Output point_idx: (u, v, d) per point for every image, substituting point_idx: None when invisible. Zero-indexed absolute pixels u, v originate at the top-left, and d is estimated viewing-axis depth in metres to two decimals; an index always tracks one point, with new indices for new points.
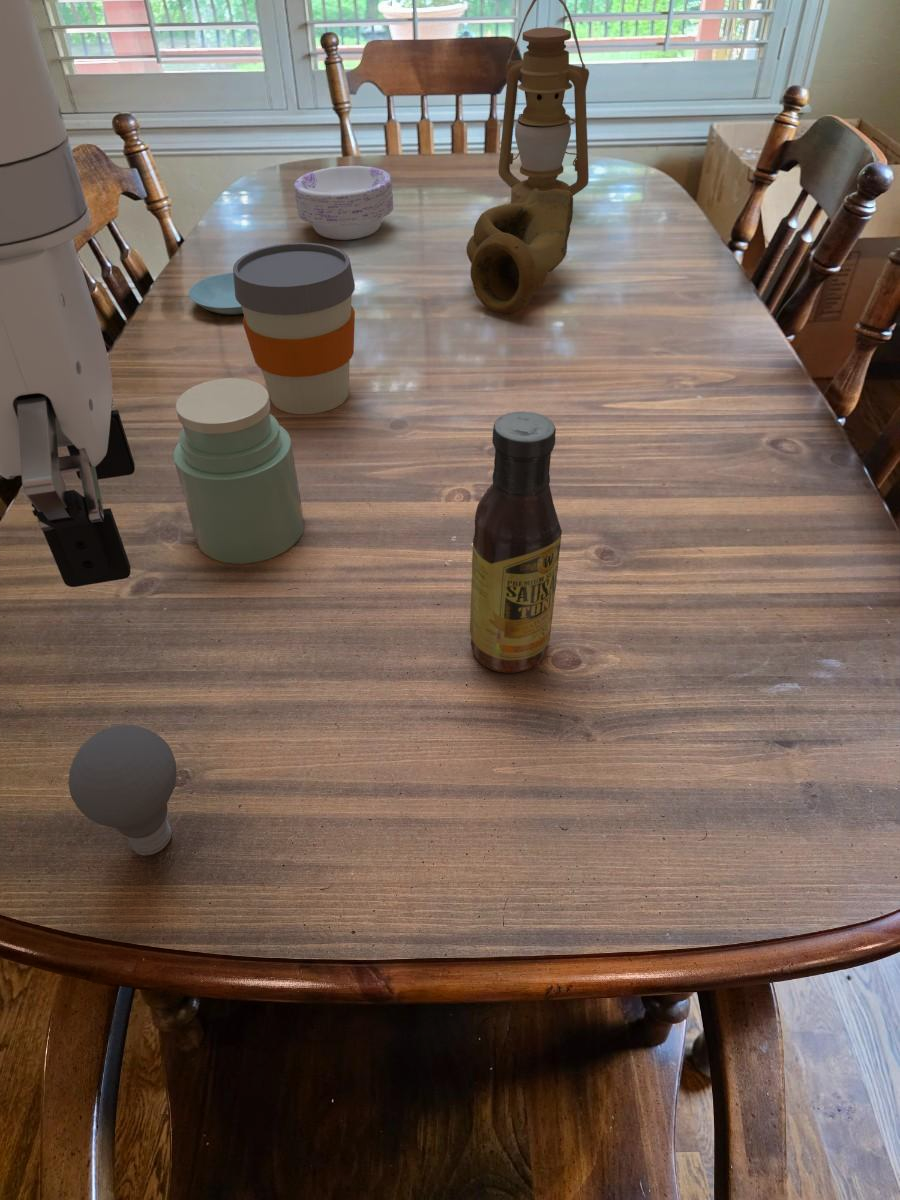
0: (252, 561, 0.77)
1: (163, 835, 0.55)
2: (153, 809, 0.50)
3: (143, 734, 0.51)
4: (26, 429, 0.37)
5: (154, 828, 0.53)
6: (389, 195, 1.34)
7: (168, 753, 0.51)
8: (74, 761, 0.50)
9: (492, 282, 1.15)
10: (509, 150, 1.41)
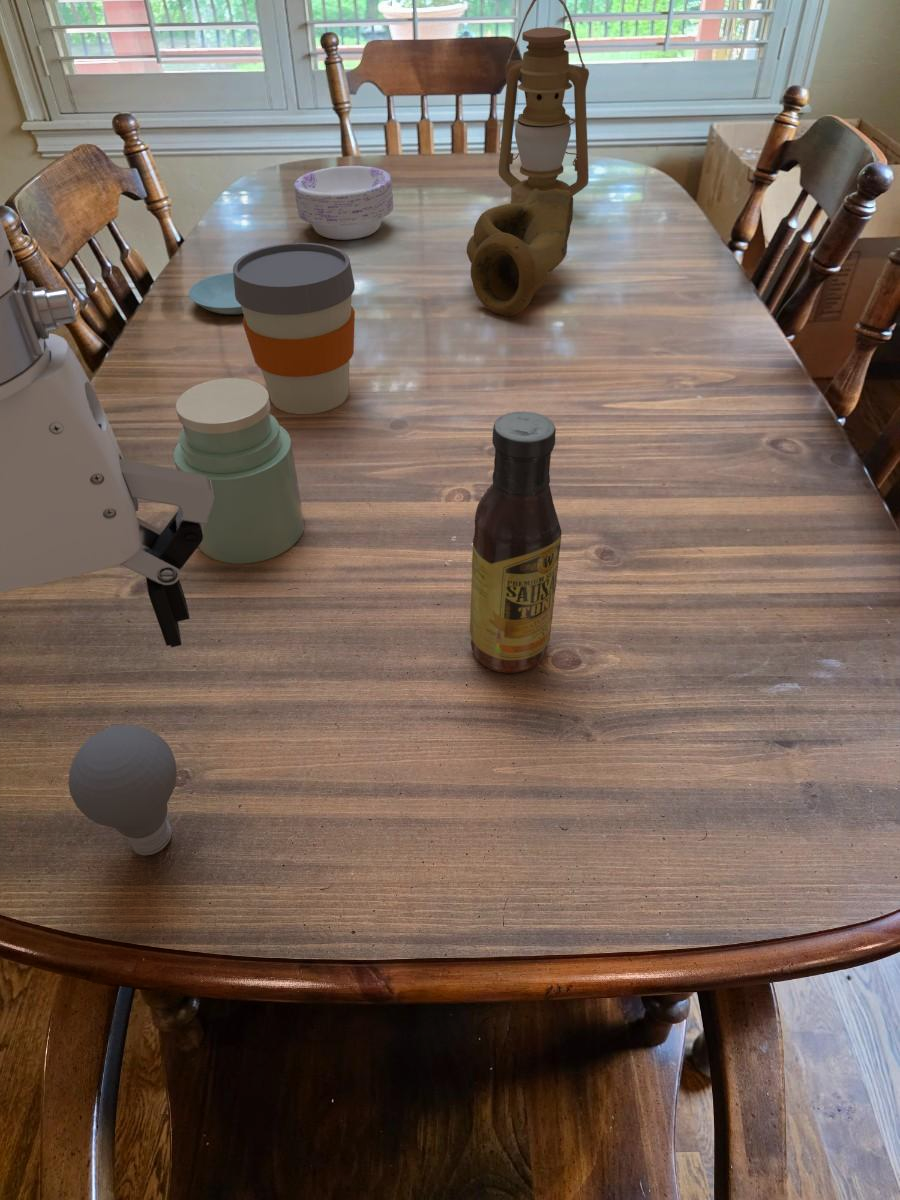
0: (252, 561, 0.77)
1: (163, 835, 0.55)
2: (153, 809, 0.50)
3: (143, 734, 0.51)
4: None
5: (154, 828, 0.53)
6: (389, 195, 1.34)
7: (168, 753, 0.51)
8: (74, 761, 0.50)
9: (492, 282, 1.15)
10: (509, 150, 1.41)
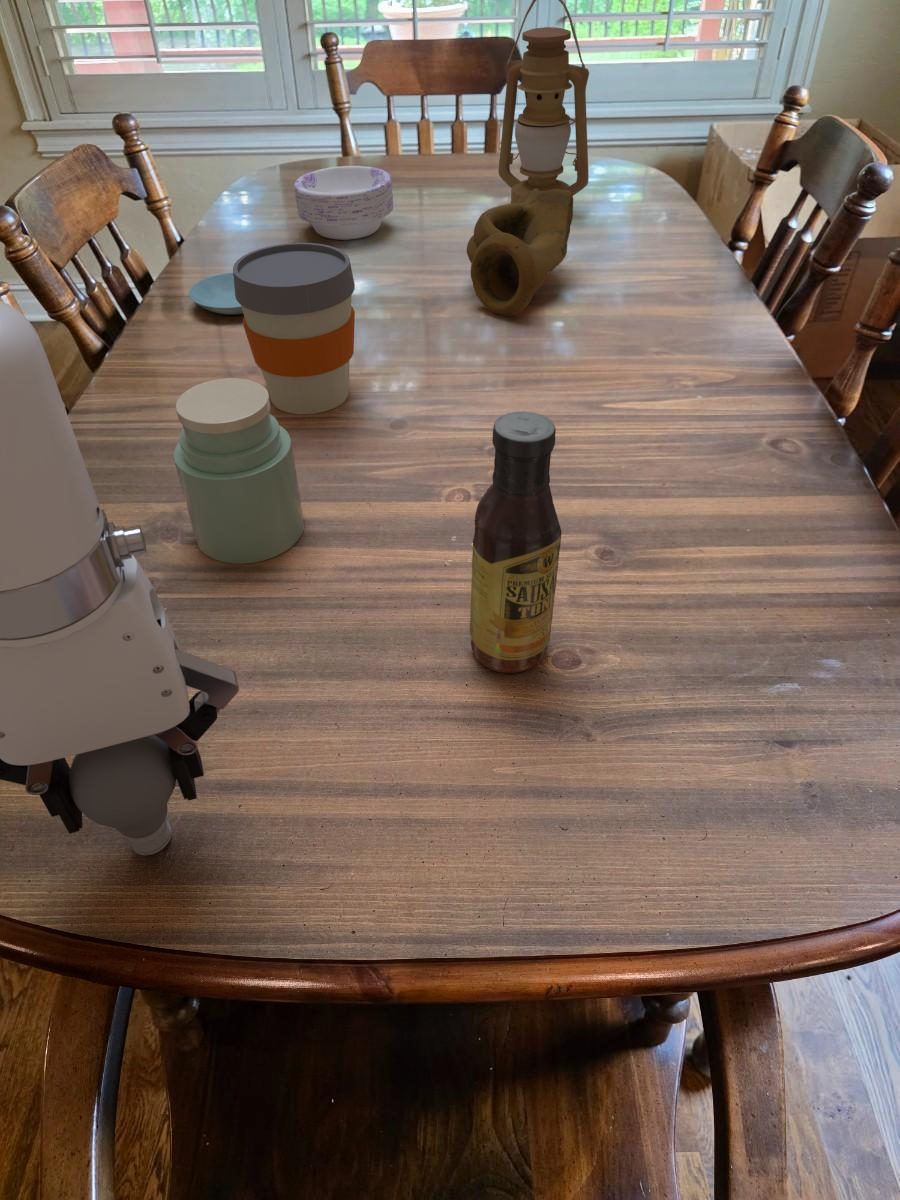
0: (252, 561, 0.77)
1: (163, 835, 0.55)
2: (153, 809, 0.50)
3: None
4: None
5: (154, 828, 0.53)
6: (389, 195, 1.34)
7: (168, 753, 0.51)
8: (74, 761, 0.50)
9: (492, 282, 1.15)
10: (509, 150, 1.41)
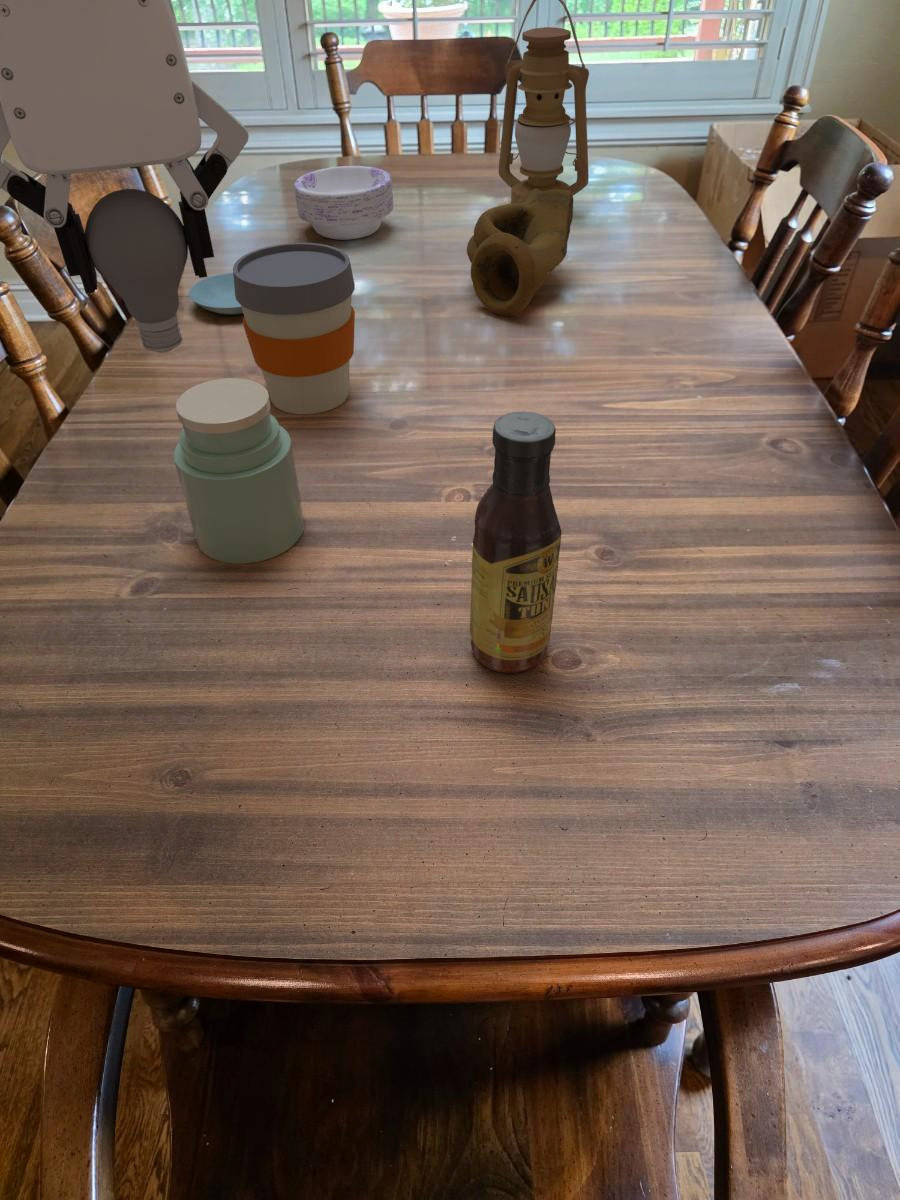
0: (252, 561, 0.77)
1: (174, 333, 0.57)
2: (165, 264, 0.52)
3: (156, 196, 0.53)
4: None
5: (166, 310, 0.55)
6: (389, 195, 1.34)
7: (180, 221, 0.53)
8: (90, 213, 0.52)
9: (492, 282, 1.15)
10: (509, 150, 1.41)
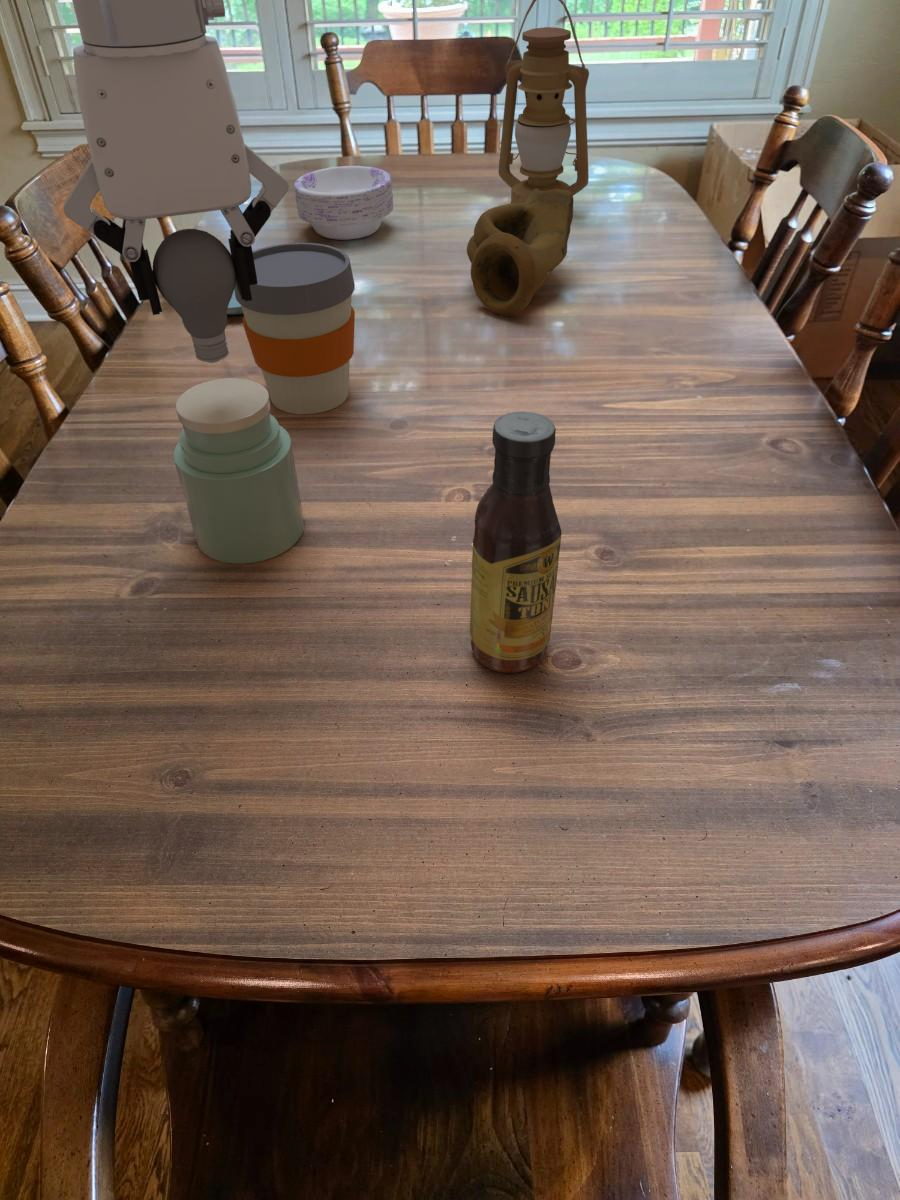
0: (252, 561, 0.77)
1: (223, 346, 0.68)
2: (219, 291, 0.63)
3: None
4: (82, 173, 0.58)
5: (217, 327, 0.66)
6: (389, 195, 1.34)
7: (230, 254, 0.64)
8: None
9: (492, 282, 1.15)
10: (509, 150, 1.41)
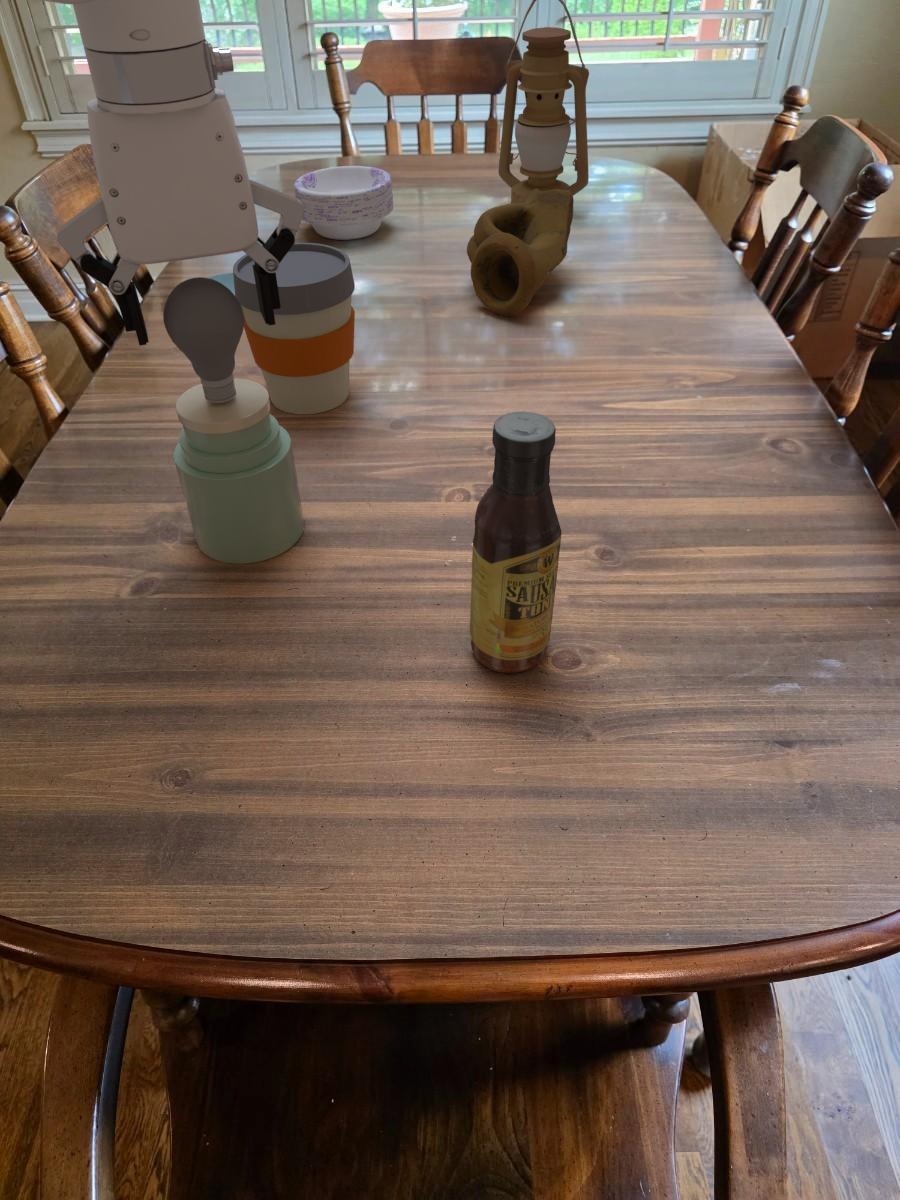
0: (252, 561, 0.77)
1: (231, 388, 0.70)
2: (228, 337, 0.66)
3: None
4: (86, 208, 0.60)
5: (226, 371, 0.69)
6: (389, 195, 1.34)
7: (238, 301, 0.67)
8: (168, 297, 0.65)
9: (492, 282, 1.15)
10: (509, 150, 1.41)
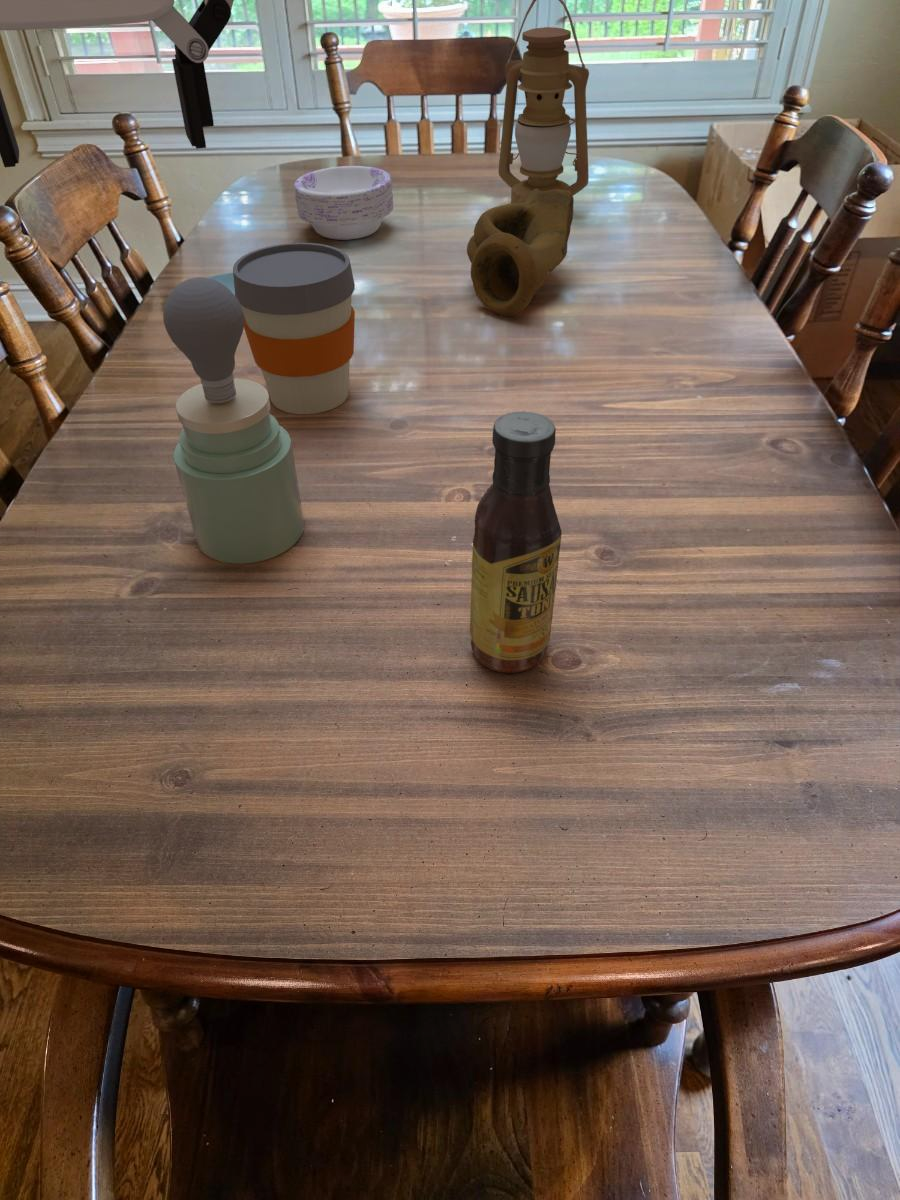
0: (252, 561, 0.77)
1: (231, 388, 0.70)
2: (228, 337, 0.66)
3: None
4: None
5: (226, 371, 0.69)
6: (389, 195, 1.34)
7: (238, 301, 0.67)
8: (168, 297, 0.65)
9: (492, 282, 1.15)
10: (509, 150, 1.41)
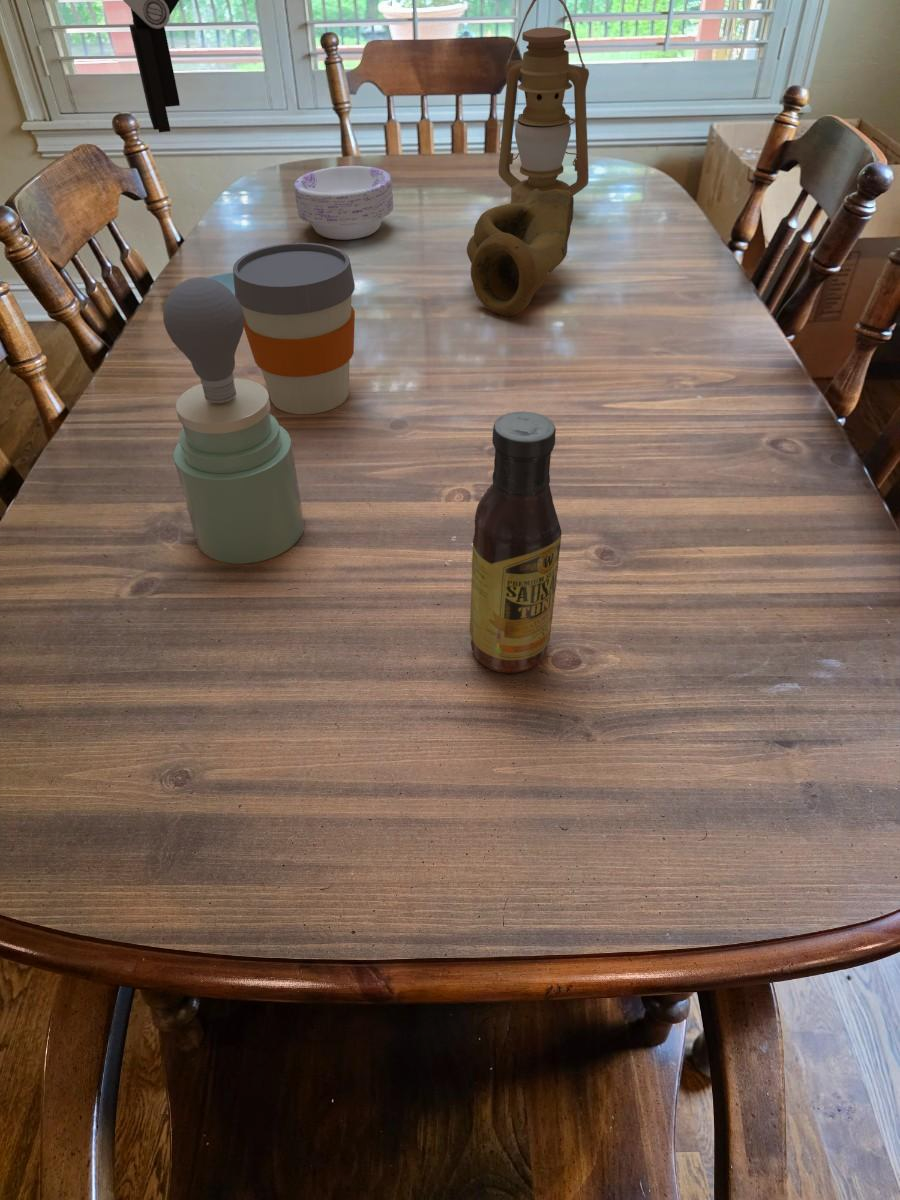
0: (252, 561, 0.77)
1: (231, 388, 0.70)
2: (228, 337, 0.66)
3: None
4: None
5: (226, 371, 0.69)
6: (389, 195, 1.34)
7: (238, 301, 0.67)
8: (168, 297, 0.65)
9: (492, 282, 1.15)
10: (509, 150, 1.41)
